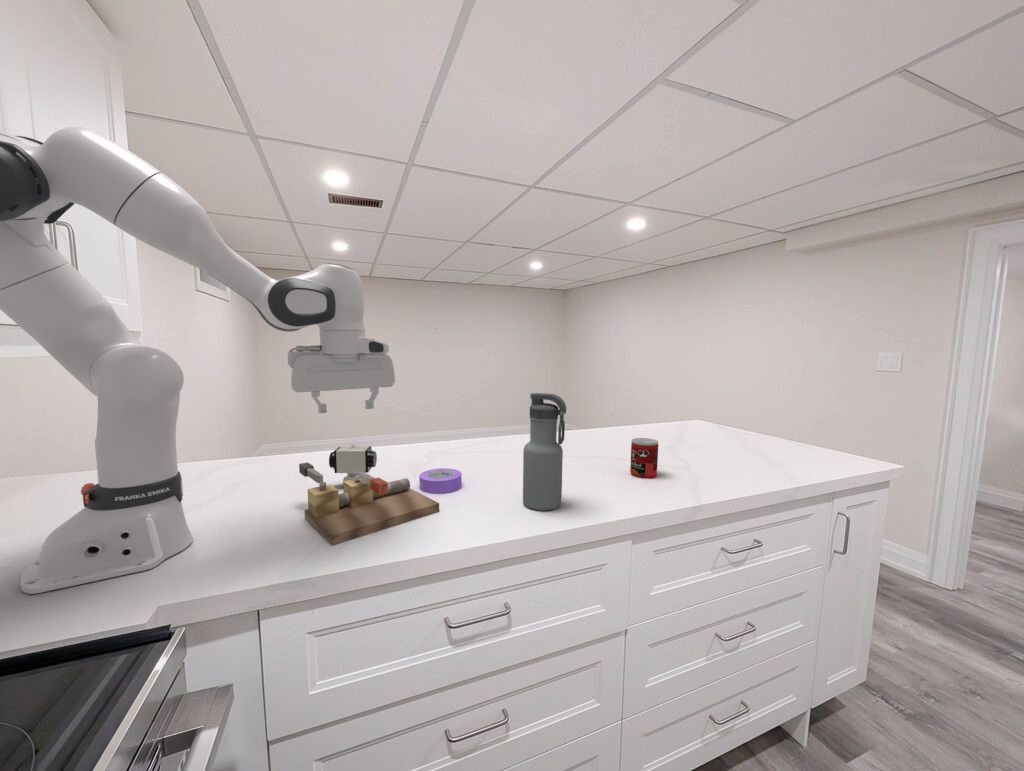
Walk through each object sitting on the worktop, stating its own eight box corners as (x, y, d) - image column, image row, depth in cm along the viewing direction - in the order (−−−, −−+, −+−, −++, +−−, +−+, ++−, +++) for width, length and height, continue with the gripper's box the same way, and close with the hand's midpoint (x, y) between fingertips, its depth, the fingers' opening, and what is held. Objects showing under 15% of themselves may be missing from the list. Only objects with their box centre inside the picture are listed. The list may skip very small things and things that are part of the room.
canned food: (625, 472, 130) (626, 438, 129) (646, 470, 133) (648, 437, 132) (639, 480, 123) (641, 444, 122) (662, 477, 125) (663, 442, 124)
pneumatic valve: (373, 489, 113) (372, 446, 112) (329, 490, 112) (328, 447, 110) (378, 482, 118) (377, 441, 117) (336, 483, 117) (334, 442, 116)
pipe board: (332, 545, 81) (330, 495, 80) (291, 505, 101) (290, 465, 100) (439, 511, 98) (439, 470, 97) (387, 482, 118) (386, 448, 117)
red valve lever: (379, 497, 87) (379, 484, 87) (352, 480, 98) (352, 469, 97) (388, 494, 89) (387, 482, 88) (360, 478, 99) (360, 467, 99)
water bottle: (565, 499, 107) (568, 392, 104) (559, 514, 97) (562, 397, 95) (527, 495, 110) (529, 391, 107) (518, 509, 100) (519, 395, 97)
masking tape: (412, 486, 116) (411, 473, 116) (447, 477, 124) (447, 465, 123) (433, 498, 107) (433, 483, 107) (469, 488, 115) (469, 474, 115)
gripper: (287, 345, 77) (292, 417, 79) (396, 345, 88) (398, 408, 90) (286, 345, 83) (290, 412, 84) (388, 344, 93) (390, 404, 95)
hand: (346, 410), depth 87 cm, fingers open, 8 cm apart
